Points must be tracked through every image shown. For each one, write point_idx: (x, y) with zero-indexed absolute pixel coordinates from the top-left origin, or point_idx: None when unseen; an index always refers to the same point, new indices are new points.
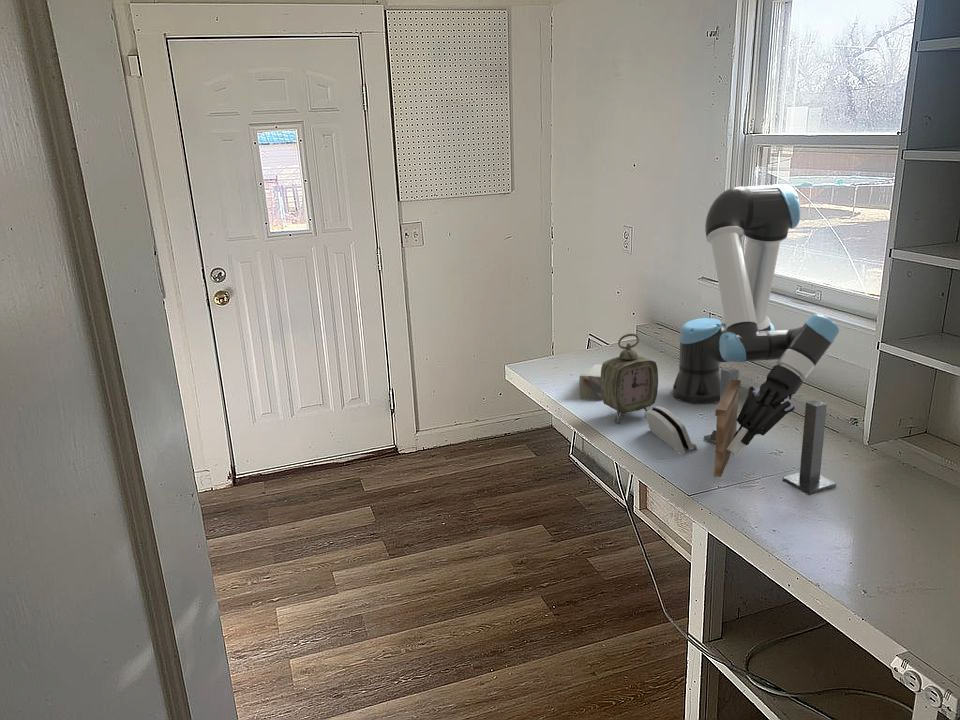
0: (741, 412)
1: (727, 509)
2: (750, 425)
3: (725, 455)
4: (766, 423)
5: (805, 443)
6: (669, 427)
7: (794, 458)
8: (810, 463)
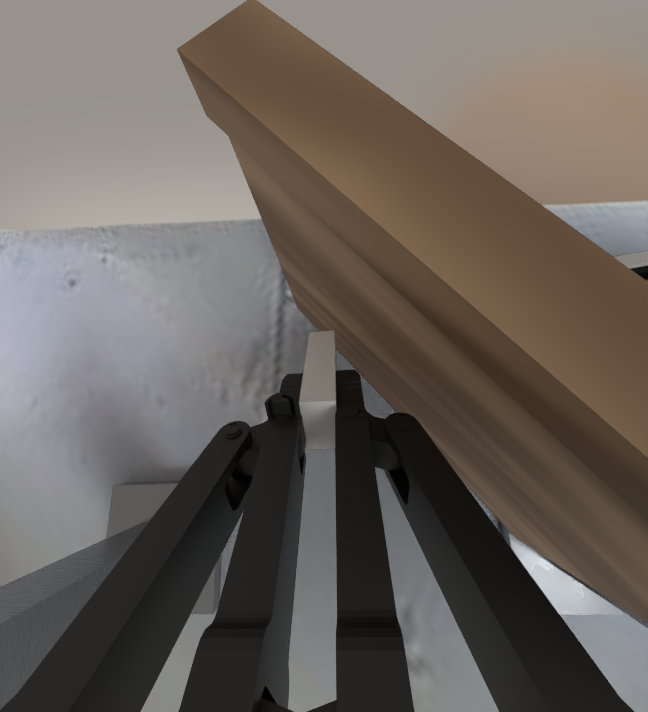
0: (434, 464)
1: (190, 252)
2: (292, 425)
3: (340, 341)
4: (184, 480)
5: (36, 591)
6: (625, 256)
7: (331, 667)
8: (84, 551)
